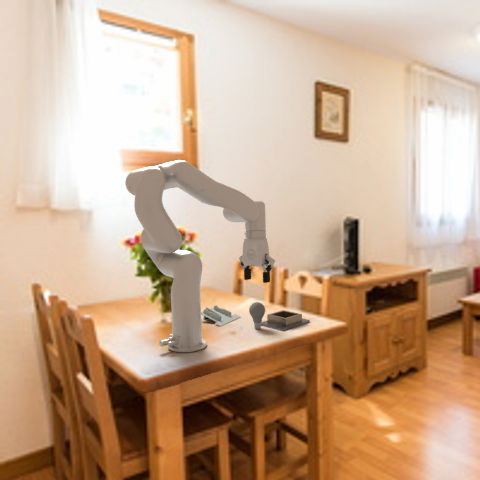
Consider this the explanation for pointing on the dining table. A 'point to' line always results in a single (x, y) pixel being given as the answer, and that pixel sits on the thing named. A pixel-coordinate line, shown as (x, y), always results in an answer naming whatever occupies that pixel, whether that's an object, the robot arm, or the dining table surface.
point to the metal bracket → (219, 315)
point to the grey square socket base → (284, 320)
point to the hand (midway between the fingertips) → (257, 281)
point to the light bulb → (257, 313)
